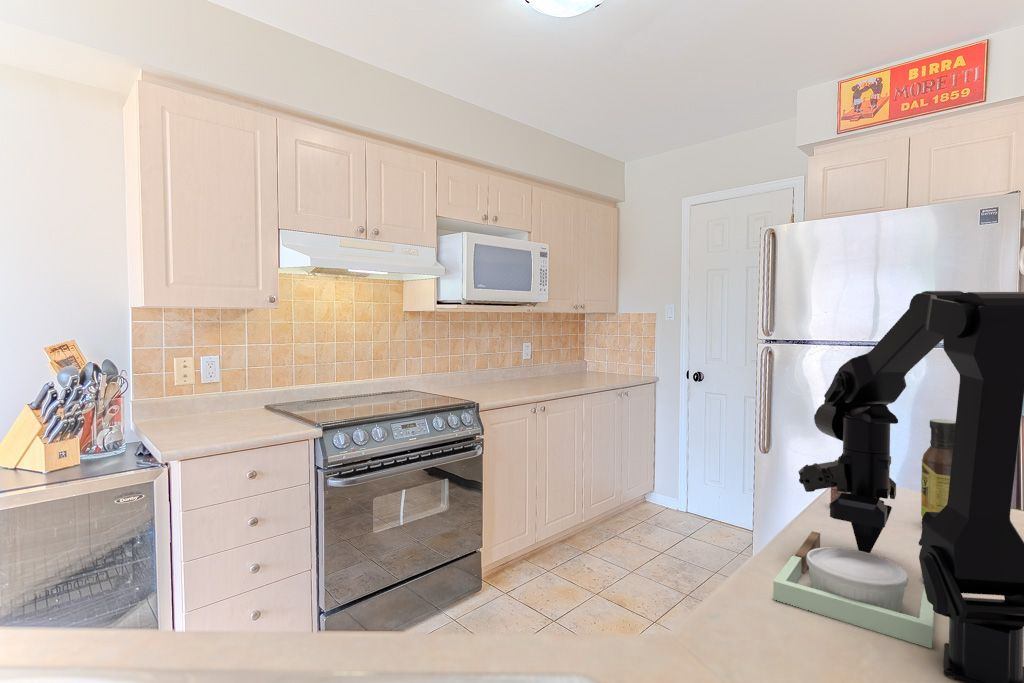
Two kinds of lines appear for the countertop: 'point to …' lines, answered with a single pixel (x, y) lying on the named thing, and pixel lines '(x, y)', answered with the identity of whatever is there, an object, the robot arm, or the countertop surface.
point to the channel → (808, 549)
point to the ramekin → (857, 576)
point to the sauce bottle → (937, 466)
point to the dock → (854, 608)
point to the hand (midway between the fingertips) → (864, 554)
